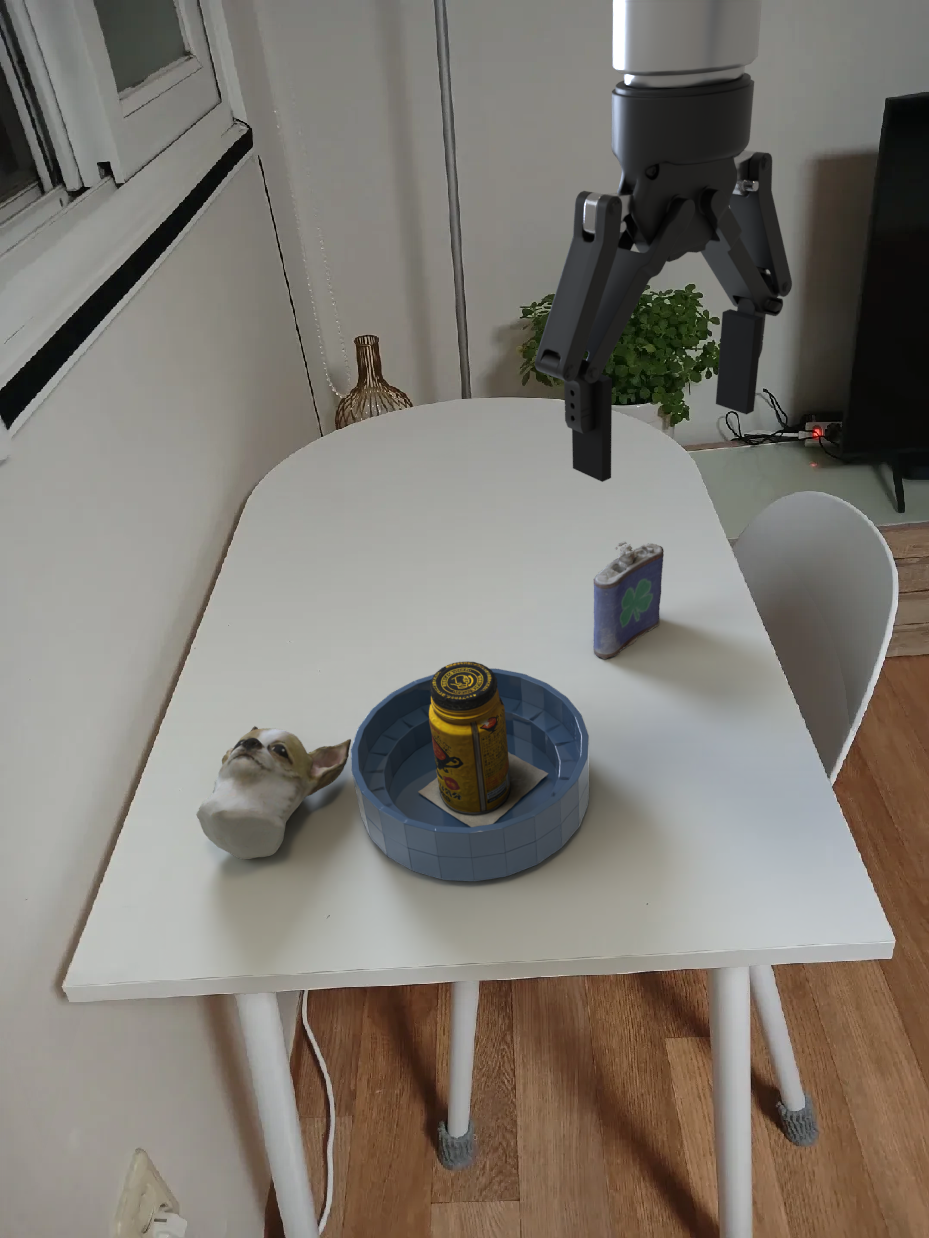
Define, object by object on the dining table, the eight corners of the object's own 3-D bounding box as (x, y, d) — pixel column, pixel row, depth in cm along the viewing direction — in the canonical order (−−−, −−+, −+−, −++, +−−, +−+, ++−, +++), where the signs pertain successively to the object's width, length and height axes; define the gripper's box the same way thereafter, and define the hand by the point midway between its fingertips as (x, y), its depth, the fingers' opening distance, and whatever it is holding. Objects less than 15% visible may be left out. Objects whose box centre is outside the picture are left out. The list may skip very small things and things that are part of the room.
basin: (637, 800, 78) (639, 747, 75) (451, 929, 70) (443, 876, 66) (492, 690, 91) (487, 640, 88) (320, 787, 83) (307, 736, 79)
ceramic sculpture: (146, 788, 72) (236, 674, 84) (171, 870, 76) (254, 750, 88) (275, 809, 69) (349, 688, 81) (293, 892, 74) (361, 765, 86)
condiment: (417, 793, 80) (400, 684, 73) (485, 739, 85) (475, 631, 78) (481, 835, 76) (469, 723, 69) (548, 776, 81) (543, 665, 74)
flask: (607, 662, 93) (607, 571, 87) (584, 651, 95) (583, 560, 89) (666, 621, 98) (670, 531, 92) (643, 610, 100) (646, 522, 94)
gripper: (774, 43, 59) (744, 371, 72) (455, 107, 48) (484, 484, 60) (883, 44, 54) (831, 397, 66) (554, 117, 43) (564, 526, 55)
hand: (666, 439), depth 63 cm, fingers open, 13 cm apart
